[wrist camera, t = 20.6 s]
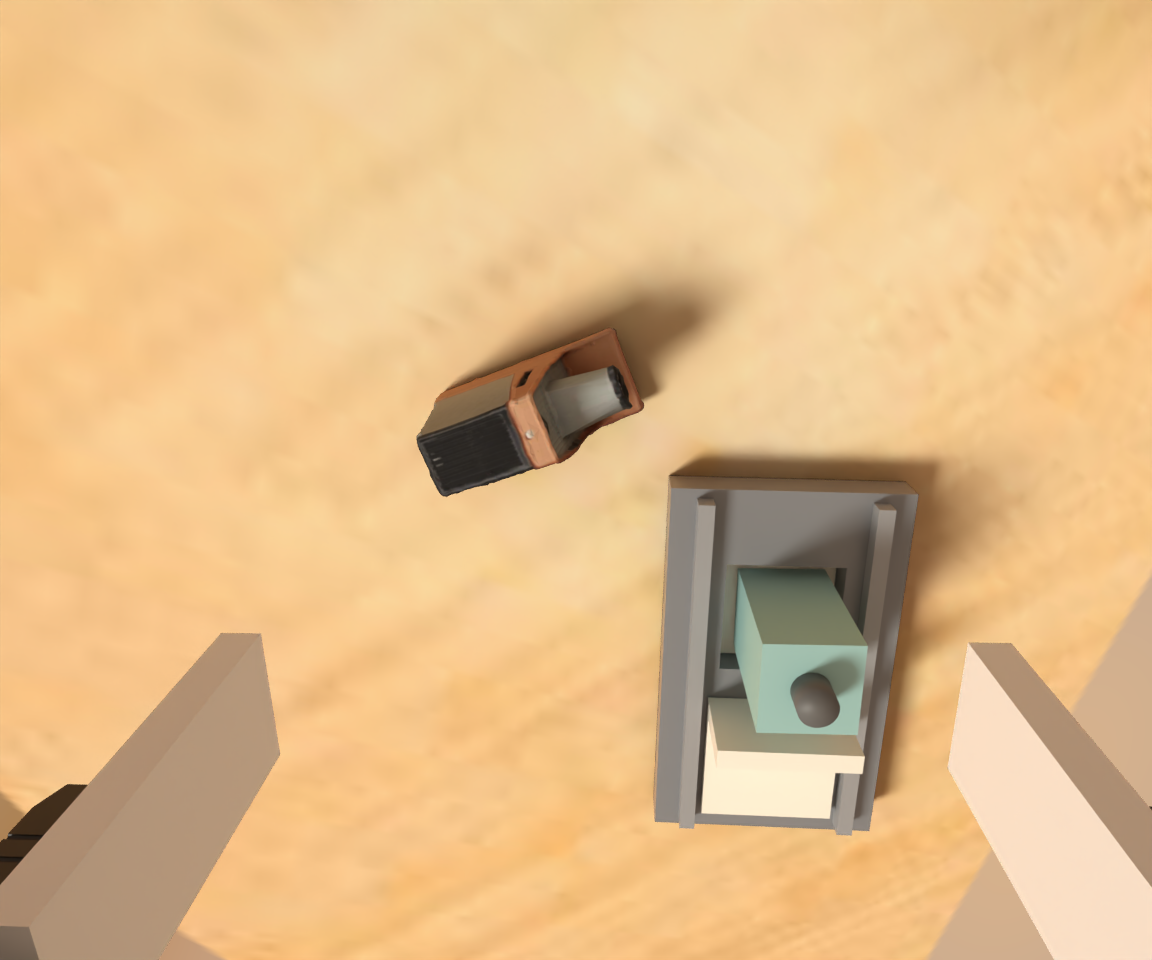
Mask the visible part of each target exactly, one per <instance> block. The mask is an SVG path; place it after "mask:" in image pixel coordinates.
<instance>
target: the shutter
mask: <svg viewBox="0 0 1152 960" xmlns="http://www.w3.org/2000/svg"><path fill="white" fill-rule="evenodd" d="M864 759H865V756H864V753H863V751H862V749H861V747H860V744H859V742H858V740H857V738H856V735H831V734H788V733H756V730H755V726H754V722H753V718H752V714H751V710H750V706H749V702H748V699H738V698H711V697H708V706H707V720H706V735H705V749H704V764H703V778H702V793H701V813H707V814H730V815H754V816H777V817H800V818H824V819H830V811H831V804H832V796H833V788H834V780H835V773H849V774H862V773H863V766H864Z"/></svg>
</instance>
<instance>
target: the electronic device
mask: <svg viewBox="0 0 1152 960" xmlns="http://www.w3.org/2000/svg"><path fill="white" fill-rule="evenodd" d="M643 408H644V403H643V402H642V401H641V399H640V397H639V394H638V391H637V388H636V386H635V383H634V381H633V378H632V375H631V373H630V370H629V368H628V365H627V362H626V360H625V357H624V355H623V352H622V350H621V347H620V344H619V341H618V338H617V335H616V330H615V329H612V328H607V329H605V330H603V331H601V332H598V333H595V334H593V335H591V336H588V337H586V338H584V339H581V340H578V341H576V342H573V343H570V344H568V345H565V346H562V347H560V348H557V349H554V350H552V351H549V352H546V353H543V354H541V355H538V356H535V357H533V358H530V359H528V360H523V361H521V362H520V363H518V364H515V365H513V366H510V367H508V368H505V369H503V370H499V371H496V372H494V373H492V374H489V375H487V376H484V377H482V378H476V379H475V380H473V381H471V382H469V383H466V384H463V385H461V386H458V387H456V388H453V389H450V390H447V391H445V392H443V393H441V394H440V396H439V397H438V398H437V399H436V401H435V403H434V409H433V410H432V412H431V414H430V416H429V418H428V420H427V421H426V423H425V425H424V427H423V428H422V429H421V432H420V433H419V434H418V435H417V444H418V447H419V450H420V452H421V454H422V456H423V458H424V461H425V463H426V465H427V467H428V469H429V471H430V476H431V478H432V480H433V482H434V483H435V485H436V488H437V489H438V491H439V493H440V494H441V495H442V496H446V497H447V496H449V495H451V494H454V493H460V492H462V491H464V490H467V489H471V488H474V487H478V486H484V485H488V484H489V483H495V482H497V481H500V480H502V479H506V478H509V477H511V476H515V475H517V474H522V473H525V472H526V471H529V470H532V469H540V468H543V467H547V466H549V465H552V464H555V463H561V462H563V461H565V460H566V459H568V458H570V457H571V456H572V455H573V454H574V453H575V452H577V451H578V449H579V448H580V446H581V444H582V443H583V442H584V441H585V439H586V438H587V436H589V435H591V434H593V433H594V432H595V431H596V430H598V429H599V428H600V427H602V426H606V425H609V424H612V423H614V422H616V421H618V420H620V419H622V418H625V417H627V416H630V415H633V414H636V413H638V412H640V411H641V410H643Z"/></svg>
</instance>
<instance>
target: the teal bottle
mask: <svg viewBox="0 0 1152 960" xmlns="http://www.w3.org/2000/svg"><path fill="white" fill-rule="evenodd" d="M734 648H735V652H736V656H737V660H738V664H739V668H740V671H741V675H742V679H743V683H744V687H745V691H746V695H747V699H748V702H749V706H750V710H751V714H752V718H753V722H754V726H755V730H756V733H788V734H831V735H858V728H859V719H860V710H861V702H862V693H863V684H864V675H865V667H866V658H867V649H868V645H867V644H866V642H865V640H864V638H863V636H862V635H861V633H860V631H859V629H858V627H857V626H856V624H855V622H854V620H853V619H852V617H851V615H850V613H849V611H848V610H847V608H846V606H845V604H844V603H843V601H842V599H841V597H840V595H839V594H838V592H837V590H836V588H835V587H834V585H833V583H832V581H831V579H830V578H829V576H828V574H827V572H826V571H825V569H766V568H738V575H737V592H736V610H735V627H734Z"/></svg>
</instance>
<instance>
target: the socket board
mask: <svg viewBox="0 0 1152 960" xmlns="http://www.w3.org/2000/svg"><path fill="white" fill-rule="evenodd" d="M918 496H919V494H918V493H917V492H916V491H914V490H913V489H912V488H911V487H910V486H909V485H908V484H907V483H906V482H899V481H860V480H821V479H781V478H742V477H703V476H669V484H668V505H667V526H666V547H665V568H664V589H663V609H662V630H661V651H660V672H659V693H658V714H657V735H656V756H655V777H654V816H655V822H673V823H679V828H693V829H694V823H696V824H719V825H742V826H765V827H789V828H812V829H835V831H836V834H837V835H852V830H858V831H869V829H870V822H871V816H872V809H873V802H874V795H875V788H876V781H877V775H878V768H879V761H880V754H881V747H882V741H883V734H884V727H885V720H886V713H887V707H888V700H889V693H890V686H891V679H892V673H893V666H894V659H895V652H896V645H897V639H898V632H899V625H900V618H901V611H902V605H903V598H904V591H905V584H906V577H907V571H908V564H909V557H910V550H911V543H912V537H913V530H914V523H915V516H916V509H917V503H918ZM738 568H766V569H825V571H826V572H827V574H828V576H829V578H830V579H831V581H832V583H833V585H834V587H835V588H836V590H837V592H838V594H839V595H840V597H841V599H842V601H843V603H844V604H845V606H846V608H847V610H848V611H849V613H850V615H851V617H852V619H853V620H854V622H855V624H856V626H857V627H858V629H859V631H860V633H861V635H862V636H863V638H864V640H865V642H866V644H867V645H868V649H867V658H866V667H865V675H864V684H863V693H862V702H861V710H860V719H859V728H858V735H856V738H857V740H858V742H859V744H860V747H861V749H862V751H863V753H864V756H865V759H864V766H863V773H862V774H849V773H835V780H834V788H833V796H832V804H831V811H830V819H824V818H800V817H777V816H754V815H730V814H707V813H701V793H702V778H703V764H704V749H705V735H706V720H707V706H708V697H711V698H738V699H747V695H746V691H745V687H744V683H743V679H742V675H741V671H740V668H739V664H738V660H737V656H736V652H735V648H734V627H735V610H736V592H737V575H738Z"/></svg>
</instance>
